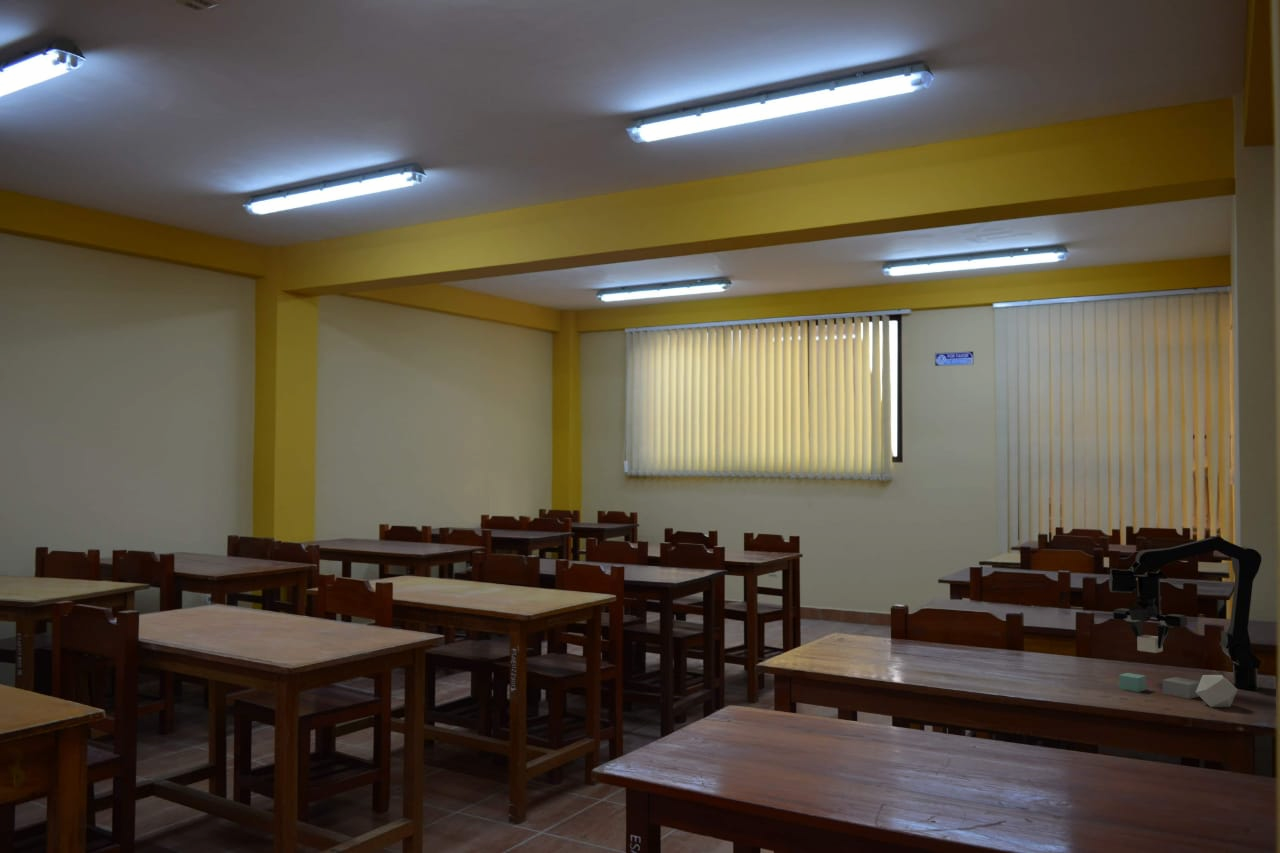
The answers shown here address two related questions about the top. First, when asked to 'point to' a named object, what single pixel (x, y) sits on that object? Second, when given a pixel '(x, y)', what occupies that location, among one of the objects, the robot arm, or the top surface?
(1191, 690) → the base block
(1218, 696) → the die
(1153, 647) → the cream brick
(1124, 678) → the teal brick
